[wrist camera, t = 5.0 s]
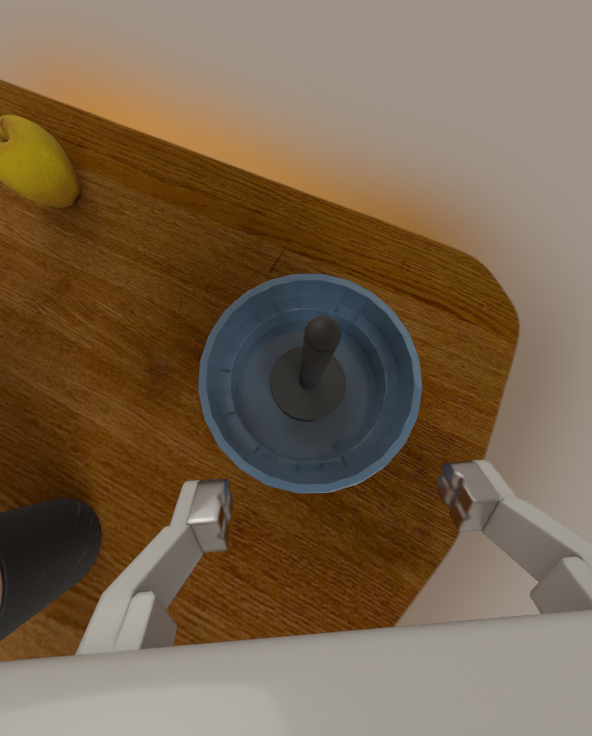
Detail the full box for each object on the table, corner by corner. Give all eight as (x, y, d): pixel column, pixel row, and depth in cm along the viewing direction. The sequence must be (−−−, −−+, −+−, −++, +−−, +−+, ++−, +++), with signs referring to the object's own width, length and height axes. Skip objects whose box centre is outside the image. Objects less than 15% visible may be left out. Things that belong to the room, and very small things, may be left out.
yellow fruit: (76, 164, 32) (8, 79, 24) (105, 201, 31) (42, 125, 23) (25, 192, 31) (-64, 113, 23) (52, 232, 30) (-32, 163, 22)
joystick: (347, 362, 27) (415, 276, 12) (332, 429, 25) (388, 426, 11) (282, 345, 27) (269, 243, 12) (263, 411, 25) (225, 384, 11)
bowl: (403, 329, 28) (436, 300, 22) (373, 498, 25) (401, 521, 18) (248, 292, 29) (236, 253, 23) (197, 451, 25) (166, 458, 19)
